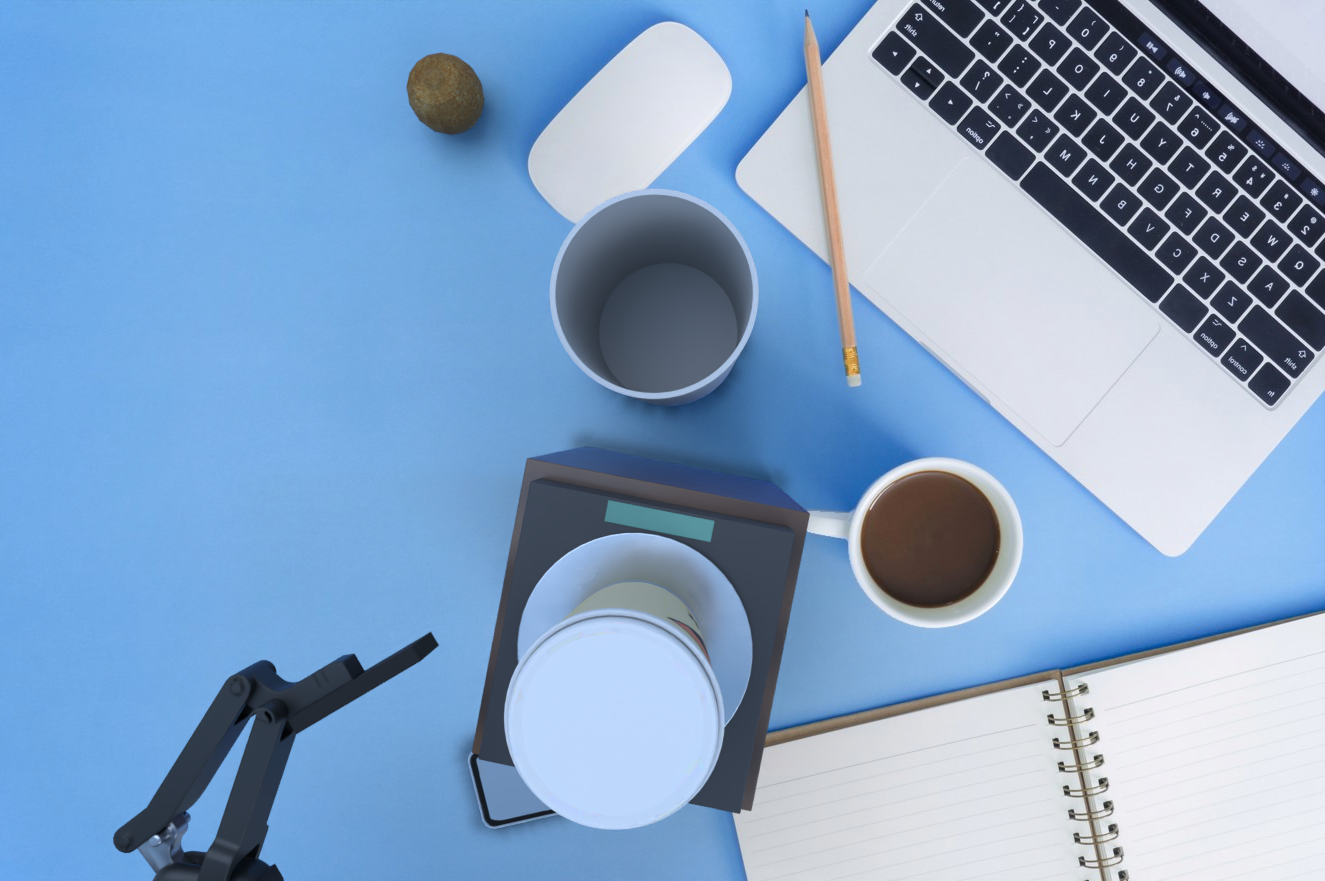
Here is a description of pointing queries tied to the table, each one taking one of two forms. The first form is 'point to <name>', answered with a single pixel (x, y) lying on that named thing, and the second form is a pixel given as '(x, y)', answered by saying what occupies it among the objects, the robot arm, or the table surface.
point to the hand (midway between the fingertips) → (503, 774)
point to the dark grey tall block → (672, 488)
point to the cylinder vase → (655, 296)
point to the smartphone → (504, 795)
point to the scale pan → (661, 567)
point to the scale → (731, 542)
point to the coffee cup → (617, 710)
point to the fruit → (445, 93)
